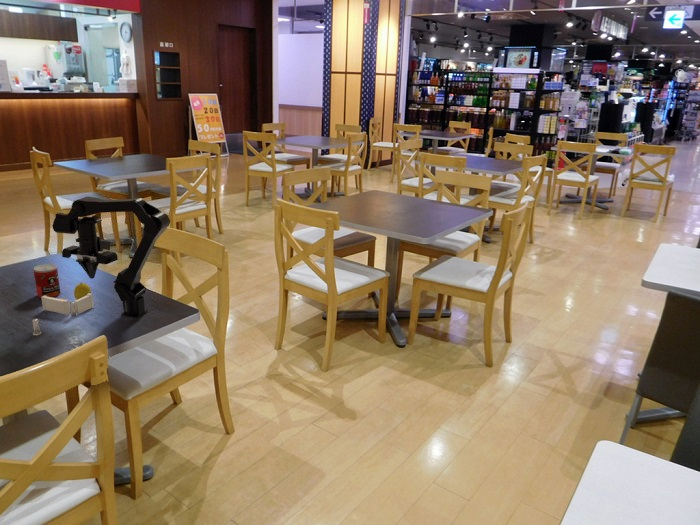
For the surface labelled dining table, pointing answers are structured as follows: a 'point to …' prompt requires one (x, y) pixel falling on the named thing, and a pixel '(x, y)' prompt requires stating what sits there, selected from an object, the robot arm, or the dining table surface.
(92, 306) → the fence panel
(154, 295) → the dining table surface
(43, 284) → the canned food
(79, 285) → the lemon
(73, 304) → the hinge post
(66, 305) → the gate
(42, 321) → the dining table surface
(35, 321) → the post
